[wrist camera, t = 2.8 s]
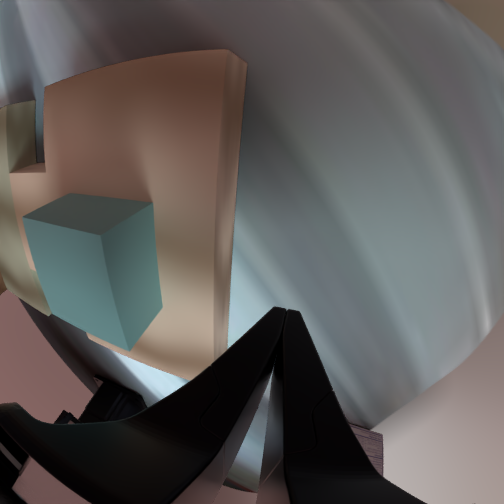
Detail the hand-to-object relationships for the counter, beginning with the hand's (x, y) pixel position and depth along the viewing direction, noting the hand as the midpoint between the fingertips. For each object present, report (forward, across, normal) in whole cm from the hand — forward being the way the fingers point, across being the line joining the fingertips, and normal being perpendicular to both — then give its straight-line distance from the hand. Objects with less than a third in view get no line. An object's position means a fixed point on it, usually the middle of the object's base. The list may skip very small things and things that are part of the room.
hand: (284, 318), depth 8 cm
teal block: (+2, +8, 0) cm, 8 cm away
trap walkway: (+4, +15, 0) cm, 15 cm away
